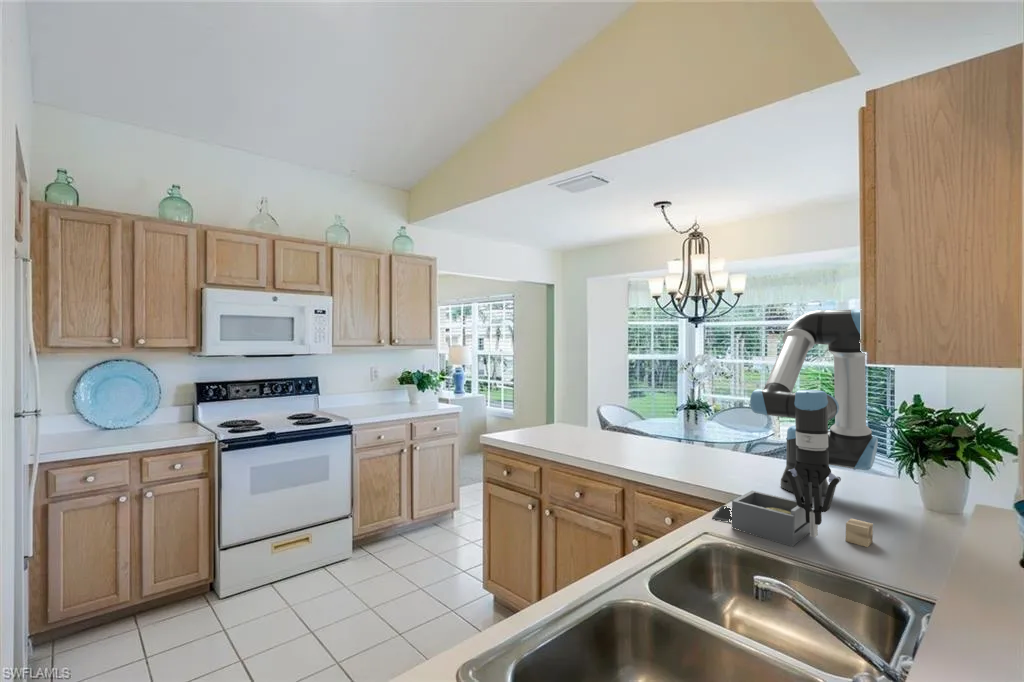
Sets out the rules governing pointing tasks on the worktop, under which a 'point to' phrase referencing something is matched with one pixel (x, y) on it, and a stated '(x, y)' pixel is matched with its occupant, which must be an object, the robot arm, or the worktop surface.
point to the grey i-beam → (798, 516)
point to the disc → (780, 510)
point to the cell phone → (723, 514)
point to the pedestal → (859, 532)
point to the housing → (767, 517)
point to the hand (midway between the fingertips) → (813, 535)
